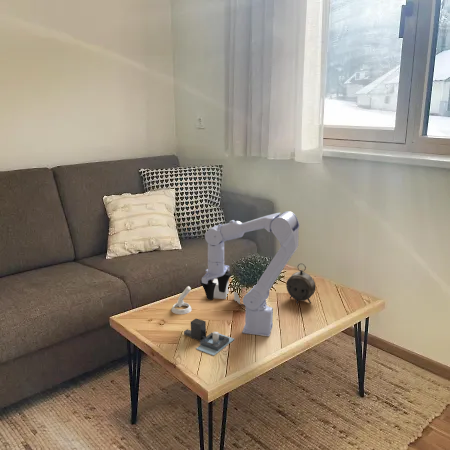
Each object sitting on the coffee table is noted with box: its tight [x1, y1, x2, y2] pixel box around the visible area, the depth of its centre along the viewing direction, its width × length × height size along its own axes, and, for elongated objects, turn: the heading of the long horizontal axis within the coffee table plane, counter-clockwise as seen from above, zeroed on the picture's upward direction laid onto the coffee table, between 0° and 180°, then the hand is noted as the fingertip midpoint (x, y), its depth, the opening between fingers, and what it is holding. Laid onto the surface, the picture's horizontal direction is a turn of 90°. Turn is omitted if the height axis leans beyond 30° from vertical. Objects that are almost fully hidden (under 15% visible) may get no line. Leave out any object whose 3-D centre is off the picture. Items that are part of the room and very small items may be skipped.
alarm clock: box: [286, 263, 316, 304], centre depth 182 cm, size 11×5×16 cm, turn 58°
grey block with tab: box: [183, 318, 229, 350], centre depth 155 cm, size 16×7×6 cm, turn 56°
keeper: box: [195, 331, 235, 356], centre depth 153 cm, size 7×12×4 cm, turn 146°
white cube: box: [212, 278, 230, 300], centre depth 189 cm, size 6×6×6 cm
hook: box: [170, 285, 192, 315], centre depth 176 cm, size 8×12×7 cm
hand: (216, 295), depth 166 cm, fingers open, 7 cm apart
